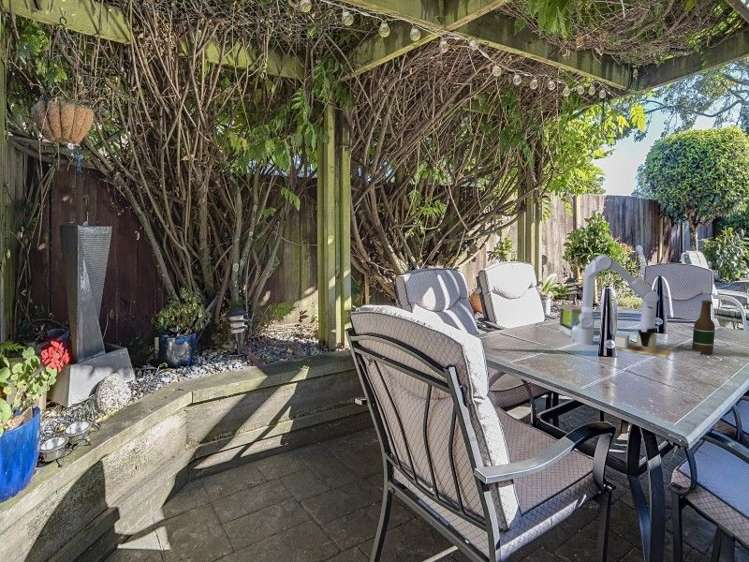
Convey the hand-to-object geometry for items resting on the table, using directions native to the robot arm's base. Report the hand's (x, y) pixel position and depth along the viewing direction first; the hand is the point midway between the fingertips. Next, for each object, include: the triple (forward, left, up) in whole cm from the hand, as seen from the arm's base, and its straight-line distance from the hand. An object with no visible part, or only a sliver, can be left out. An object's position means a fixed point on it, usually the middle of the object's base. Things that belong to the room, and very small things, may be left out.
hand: (646, 344), depth 208 cm
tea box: (-36, +12, -3) cm, 38 cm away
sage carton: (0, 0, -1) cm, 1 cm away
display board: (-2, -4, -3) cm, 6 cm away
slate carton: (-9, -10, -1) cm, 13 cm away
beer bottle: (+20, +12, -3) cm, 24 cm away
